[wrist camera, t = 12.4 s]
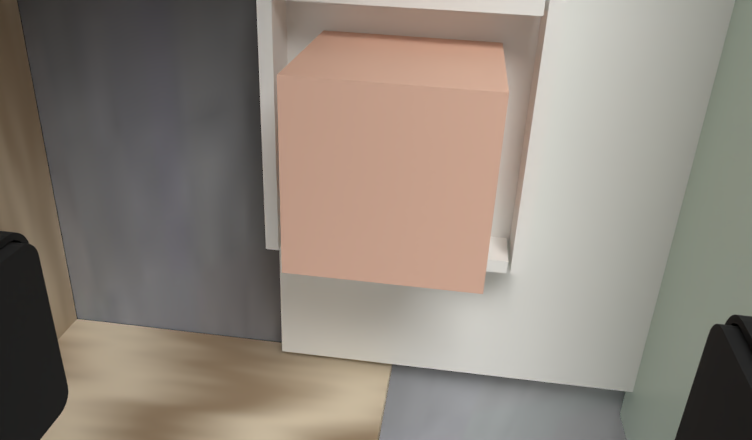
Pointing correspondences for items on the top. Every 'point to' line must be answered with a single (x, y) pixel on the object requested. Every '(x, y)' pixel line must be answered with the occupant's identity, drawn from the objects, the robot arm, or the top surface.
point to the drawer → (562, 198)
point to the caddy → (163, 331)
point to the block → (391, 158)
